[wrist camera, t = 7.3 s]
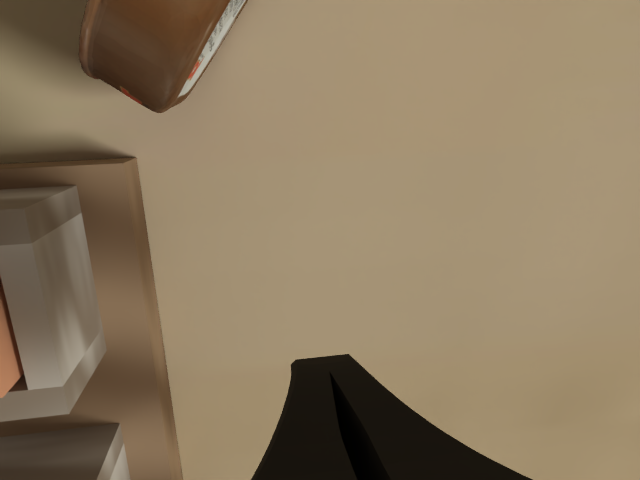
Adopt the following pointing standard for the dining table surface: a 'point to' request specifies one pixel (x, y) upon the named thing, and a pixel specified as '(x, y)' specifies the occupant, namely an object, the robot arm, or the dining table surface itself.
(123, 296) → the press board
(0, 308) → the terracotta plunger
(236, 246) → the dining table surface
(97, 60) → the tin
